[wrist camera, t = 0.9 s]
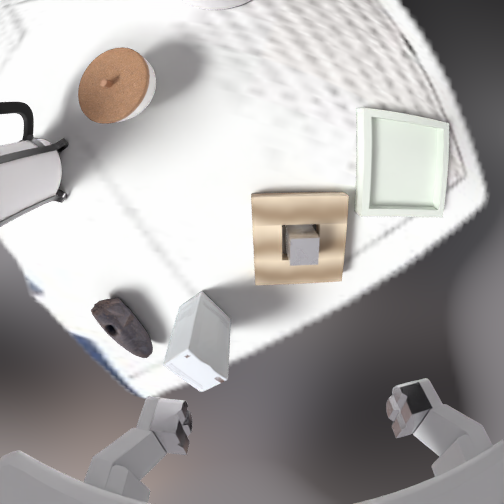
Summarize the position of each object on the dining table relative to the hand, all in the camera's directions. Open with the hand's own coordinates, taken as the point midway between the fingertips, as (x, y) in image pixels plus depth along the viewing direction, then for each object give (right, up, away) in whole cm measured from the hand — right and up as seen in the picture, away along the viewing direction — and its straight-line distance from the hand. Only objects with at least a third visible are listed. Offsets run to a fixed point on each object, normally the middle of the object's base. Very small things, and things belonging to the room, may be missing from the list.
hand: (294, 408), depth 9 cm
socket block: (+6, +8, +34) cm, 35 cm away
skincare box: (-10, -5, +40) cm, 41 cm away
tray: (+22, +20, +28) cm, 41 cm away
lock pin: (+6, +8, +34) cm, 35 cm away
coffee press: (-39, +22, +28) cm, 53 cm away
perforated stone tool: (-26, -7, +41) cm, 49 cm away
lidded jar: (-20, +30, +24) cm, 44 cm away
